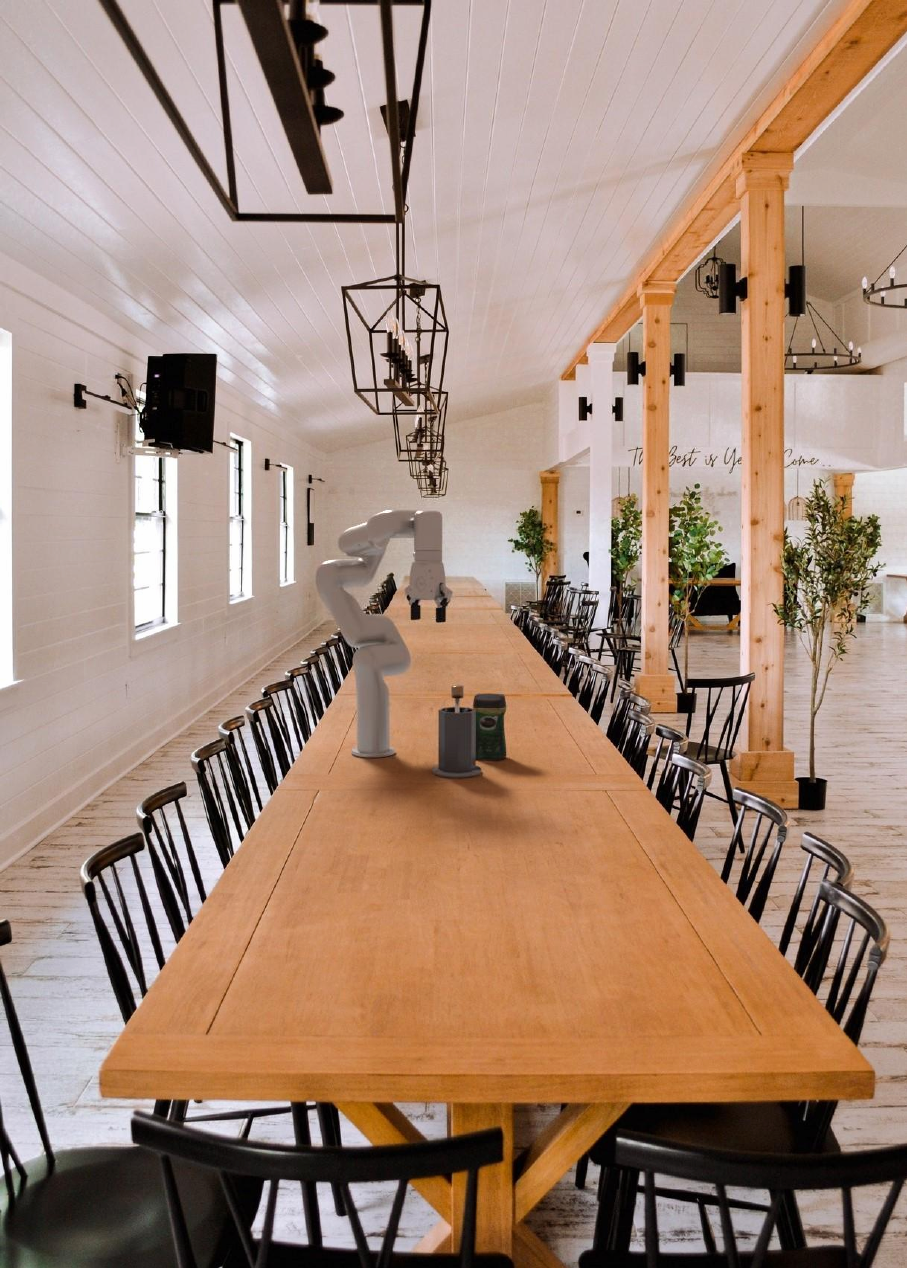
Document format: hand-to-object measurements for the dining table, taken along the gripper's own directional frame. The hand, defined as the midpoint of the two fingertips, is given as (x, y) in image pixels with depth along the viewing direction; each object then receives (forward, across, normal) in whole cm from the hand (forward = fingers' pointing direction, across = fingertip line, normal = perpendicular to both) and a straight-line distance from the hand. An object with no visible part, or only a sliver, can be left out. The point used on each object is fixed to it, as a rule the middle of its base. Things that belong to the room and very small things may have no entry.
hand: (428, 621), depth 279 cm
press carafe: (+40, +9, +2) cm, 41 cm away
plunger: (+39, +9, +2) cm, 40 cm away
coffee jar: (+40, +3, +21) cm, 46 cm away
